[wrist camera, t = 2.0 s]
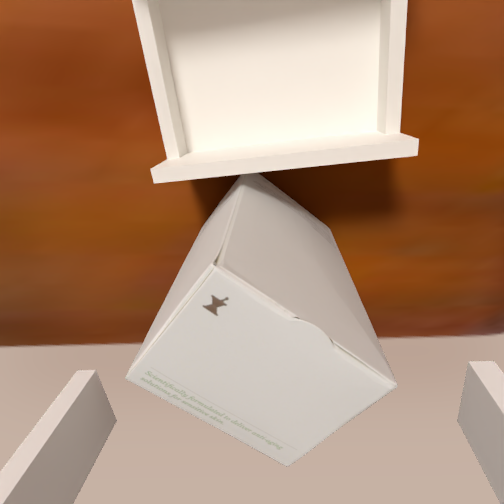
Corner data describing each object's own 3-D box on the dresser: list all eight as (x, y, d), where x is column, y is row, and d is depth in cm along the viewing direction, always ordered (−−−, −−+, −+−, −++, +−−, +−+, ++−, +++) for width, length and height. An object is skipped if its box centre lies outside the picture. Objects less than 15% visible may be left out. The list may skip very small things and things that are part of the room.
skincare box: (201, 226, 26) (108, 377, 12) (251, 158, 24) (206, 253, 10) (283, 285, 28) (283, 478, 14) (339, 228, 26) (407, 393, 12)
